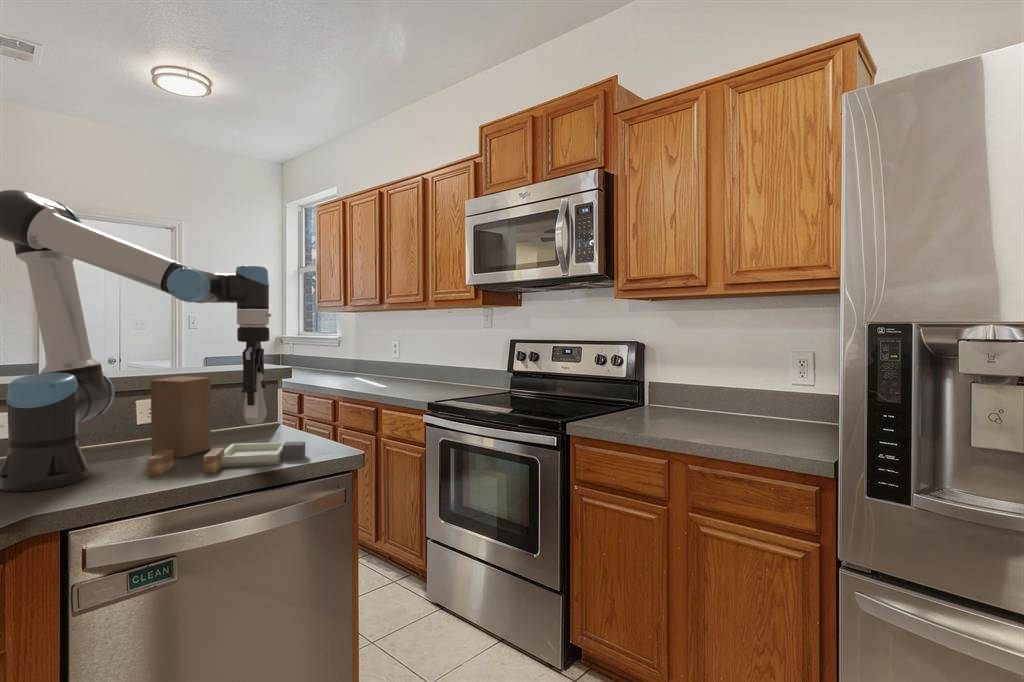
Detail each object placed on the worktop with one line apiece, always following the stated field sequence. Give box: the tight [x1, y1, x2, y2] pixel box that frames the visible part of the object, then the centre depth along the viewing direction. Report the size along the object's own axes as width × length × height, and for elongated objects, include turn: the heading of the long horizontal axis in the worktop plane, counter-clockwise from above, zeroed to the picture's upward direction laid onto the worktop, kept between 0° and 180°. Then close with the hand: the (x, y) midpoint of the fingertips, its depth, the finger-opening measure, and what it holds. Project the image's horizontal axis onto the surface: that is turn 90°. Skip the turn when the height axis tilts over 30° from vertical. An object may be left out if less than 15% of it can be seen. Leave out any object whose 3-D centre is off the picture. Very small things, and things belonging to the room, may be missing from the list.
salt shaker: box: [242, 372, 268, 425], centre depth 143 cm, size 6×6×13 cm
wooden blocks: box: [148, 447, 225, 476], centre depth 133 cm, size 14×8×4 cm, turn 103°
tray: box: [221, 441, 285, 468], centre depth 144 cm, size 14×14×2 cm
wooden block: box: [150, 375, 212, 458], centre depth 149 cm, size 10×10×20 cm
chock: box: [282, 441, 306, 461], centre depth 145 cm, size 5×4×4 cm
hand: (254, 415), depth 144 cm, fingers closed on salt shaker, 6 cm apart
